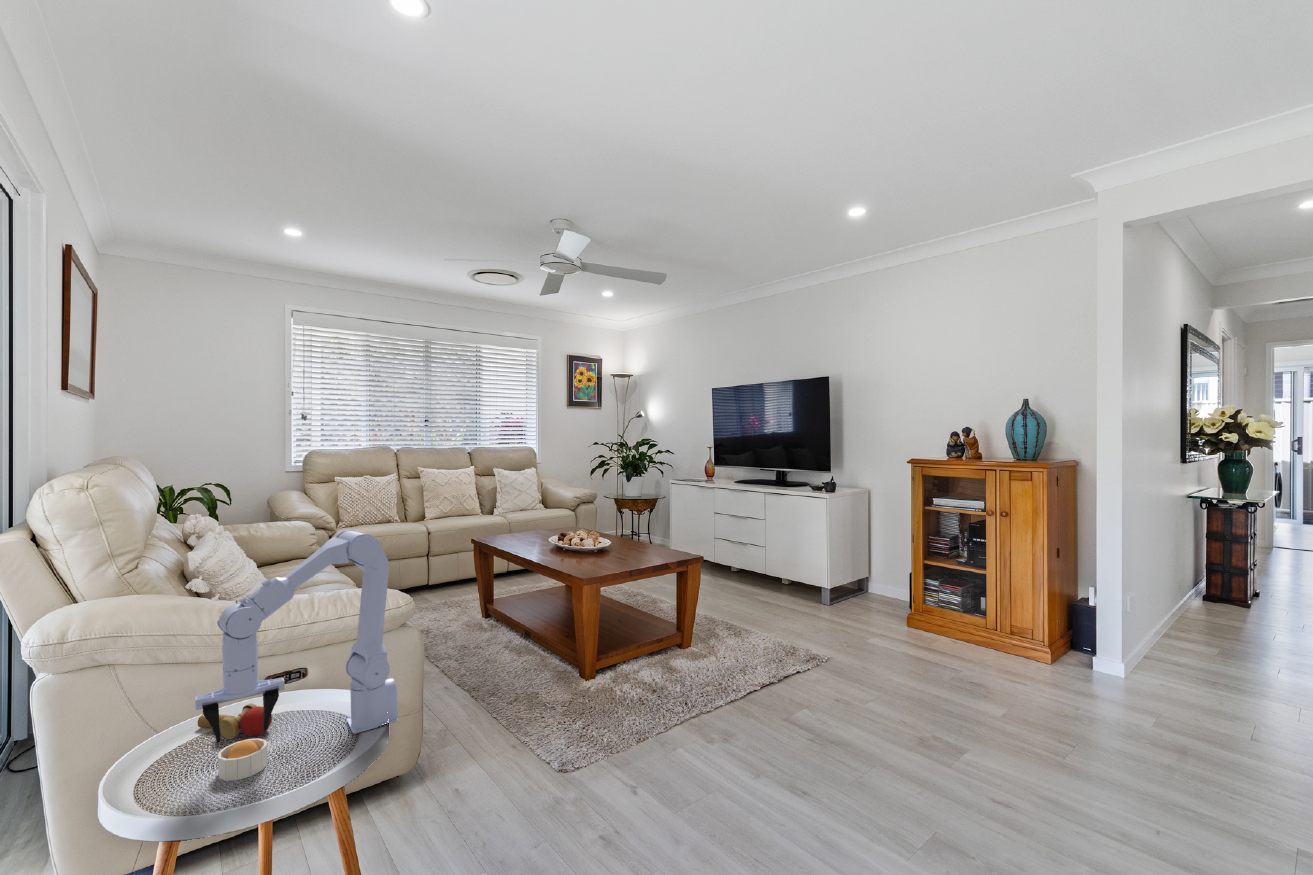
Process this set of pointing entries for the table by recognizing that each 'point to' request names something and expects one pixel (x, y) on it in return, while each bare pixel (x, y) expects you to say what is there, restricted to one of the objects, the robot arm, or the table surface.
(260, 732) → the kendama
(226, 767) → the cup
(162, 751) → the table surface
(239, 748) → the ball
